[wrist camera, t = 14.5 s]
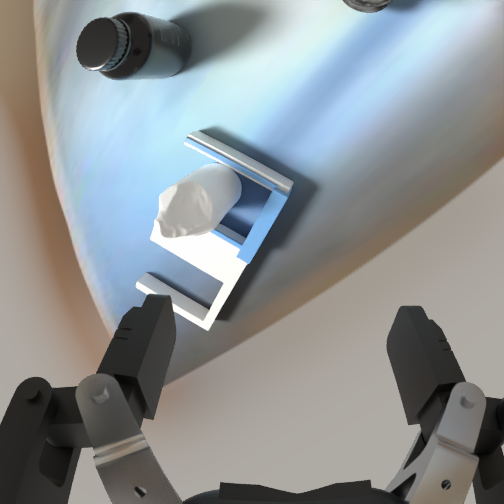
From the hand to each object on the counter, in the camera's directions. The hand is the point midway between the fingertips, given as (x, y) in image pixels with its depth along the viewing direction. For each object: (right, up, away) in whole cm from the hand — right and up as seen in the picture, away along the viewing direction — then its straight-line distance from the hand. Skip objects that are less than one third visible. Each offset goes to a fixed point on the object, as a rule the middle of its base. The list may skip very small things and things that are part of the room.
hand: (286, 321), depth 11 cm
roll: (-5, +10, +25) cm, 28 cm away
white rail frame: (-7, +4, +29) cm, 30 cm away
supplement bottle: (-11, +25, +19) cm, 33 cm away
